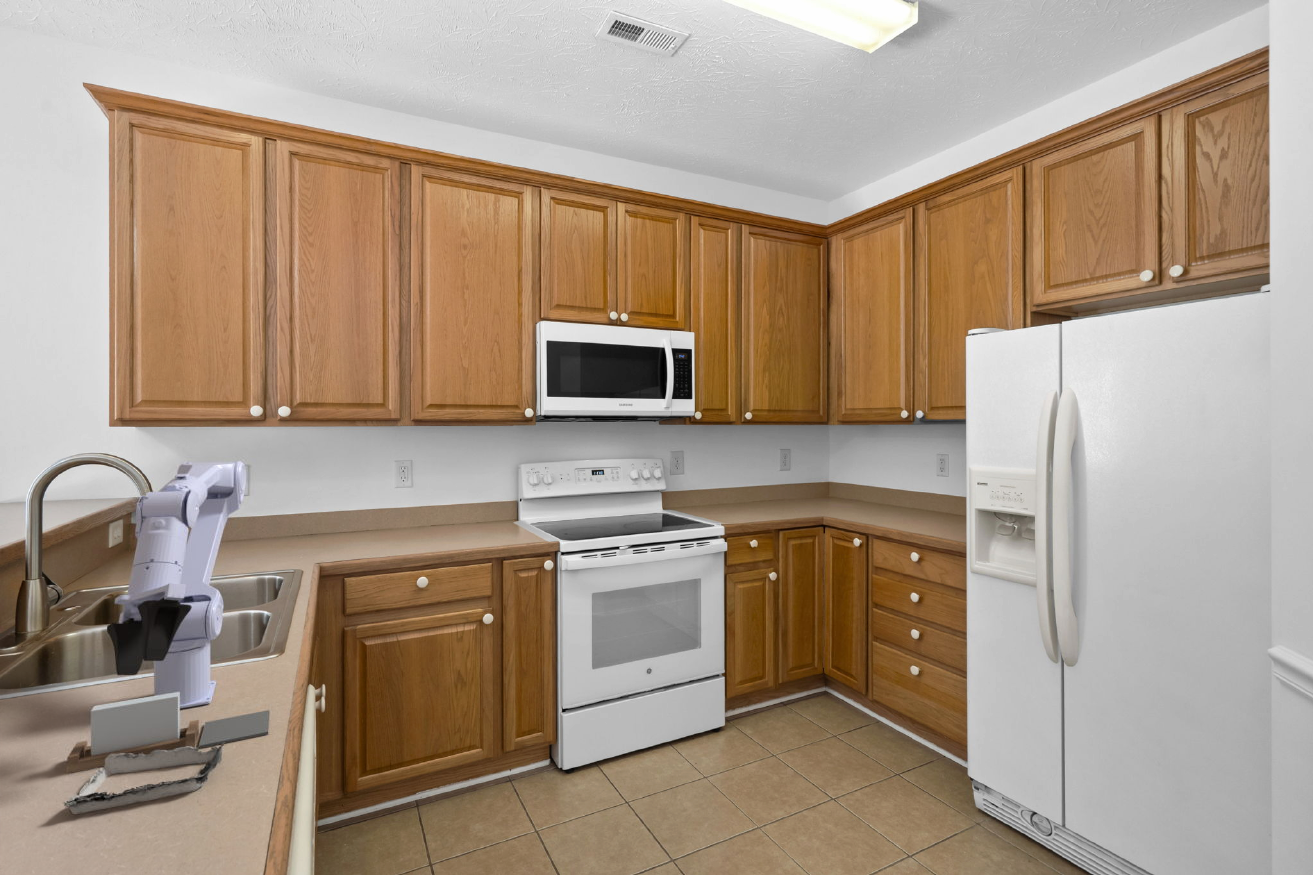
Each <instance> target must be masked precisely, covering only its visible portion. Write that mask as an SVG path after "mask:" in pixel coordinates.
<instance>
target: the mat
mask: <svg viewBox="0 0 1313 875" xmlns="http://www.w3.org/2000/svg"><path fill="white" fill-rule="evenodd" d="M269 725H270V710H269V709H268V710H262V711H257V712H252V713H246V714H241V715H235V716H231V717H225V718H220V719H216V720H211V721H206V722H205V723H204V726H203V728H202V732H201V733H202V734H201V737H200V740H199V743H198V750H200V749H203V748H205V749H206V748H211V747H213V746H215V747H216V746H220V745H222V743H224V744H228V743H234V742H238V741H242V740H244V741H245V740H249V739H253V738H259V737H262V736H267V735H269V728H270V727H269Z"/></svg>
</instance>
